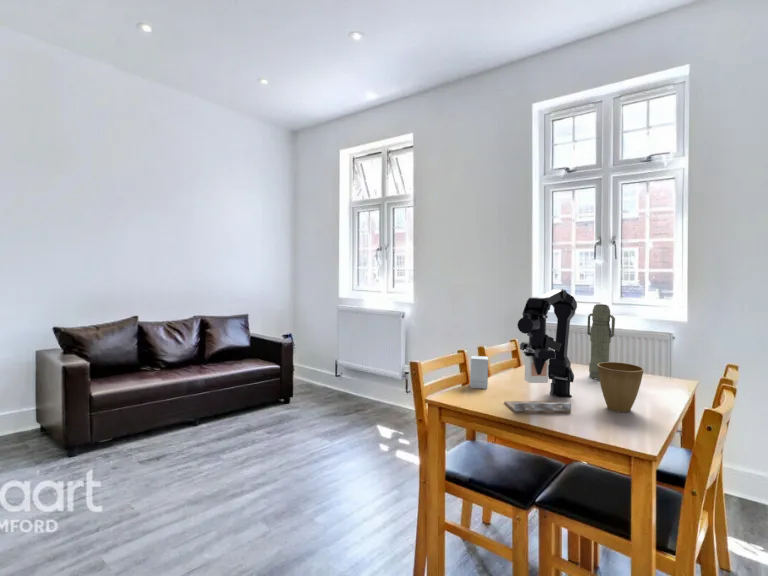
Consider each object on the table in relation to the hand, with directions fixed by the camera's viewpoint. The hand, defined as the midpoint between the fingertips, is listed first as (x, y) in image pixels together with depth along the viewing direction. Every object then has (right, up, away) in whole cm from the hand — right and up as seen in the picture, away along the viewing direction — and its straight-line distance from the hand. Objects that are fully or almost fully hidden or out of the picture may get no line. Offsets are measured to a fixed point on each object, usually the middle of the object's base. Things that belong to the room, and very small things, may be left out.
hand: (536, 373), depth 164 cm
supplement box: (-15, -12, +30) cm, 35 cm away
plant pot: (+30, -13, -1) cm, 33 cm away
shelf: (0, -13, -1) cm, 13 cm away
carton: (0, -3, 0) cm, 3 cm away
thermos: (+47, -12, +49) cm, 69 cm away
